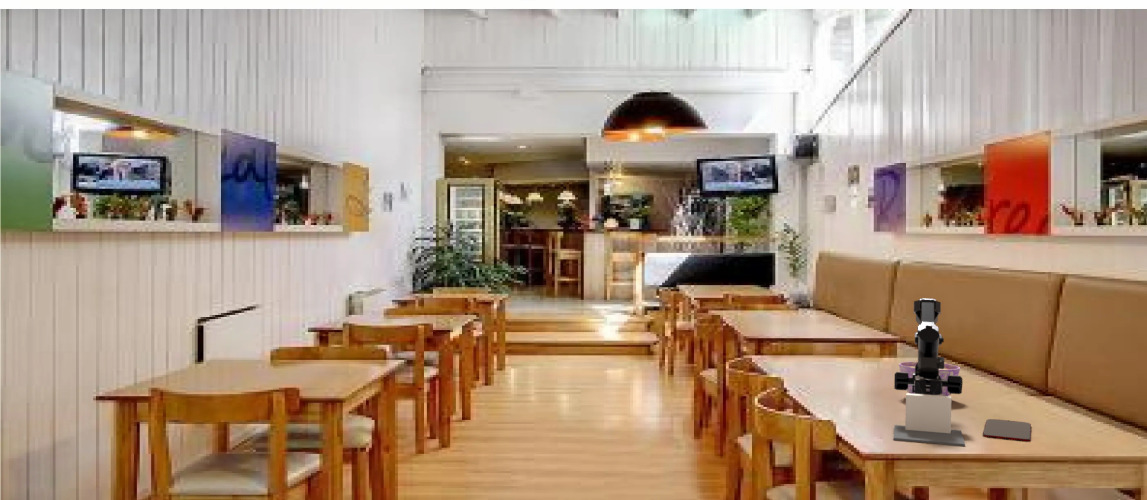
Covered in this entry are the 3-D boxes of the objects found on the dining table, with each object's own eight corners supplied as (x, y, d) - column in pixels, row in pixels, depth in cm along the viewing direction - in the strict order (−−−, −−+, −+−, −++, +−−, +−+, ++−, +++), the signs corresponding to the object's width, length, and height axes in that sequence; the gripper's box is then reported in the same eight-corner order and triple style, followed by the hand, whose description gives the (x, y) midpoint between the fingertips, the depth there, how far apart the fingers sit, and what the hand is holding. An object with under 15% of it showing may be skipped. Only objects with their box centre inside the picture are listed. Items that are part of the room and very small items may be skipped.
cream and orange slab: (905, 427, 262) (906, 393, 262) (950, 431, 258) (950, 396, 258) (905, 429, 259) (906, 394, 259) (950, 433, 255) (951, 398, 255)
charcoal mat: (894, 426, 265) (894, 424, 265) (961, 432, 259) (961, 430, 259) (893, 440, 248) (893, 437, 248) (964, 446, 241) (964, 444, 241)
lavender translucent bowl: (969, 404, 305) (970, 370, 304) (909, 403, 305) (910, 369, 305) (945, 394, 325) (946, 362, 324) (889, 393, 325) (890, 361, 325)
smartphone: (981, 434, 254) (986, 418, 276) (981, 440, 254) (986, 423, 276) (1030, 439, 248) (1031, 422, 270) (1030, 445, 248) (1031, 427, 270)
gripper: (895, 345, 271) (893, 387, 261) (962, 348, 265) (964, 392, 254) (895, 367, 279) (893, 409, 268) (960, 372, 272) (962, 415, 262)
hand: (927, 406), depth 263 cm, fingers closed
